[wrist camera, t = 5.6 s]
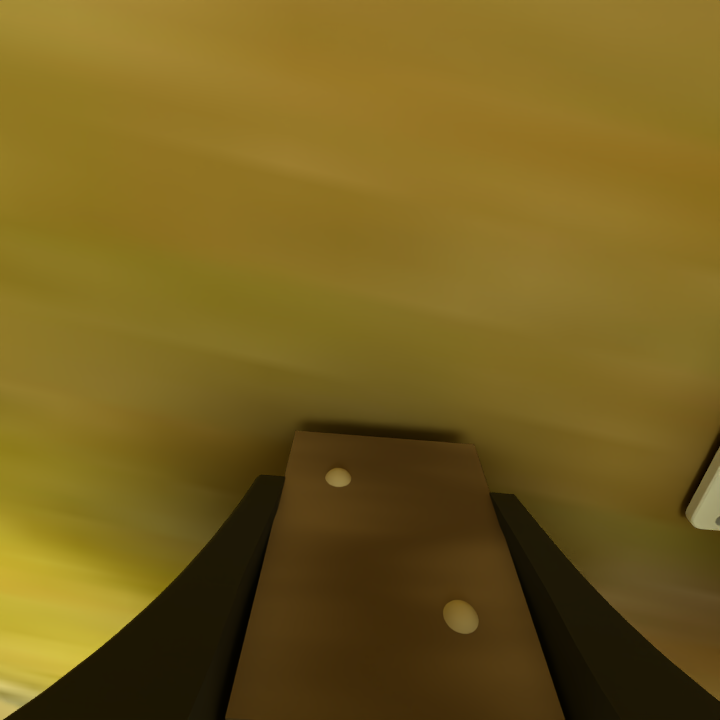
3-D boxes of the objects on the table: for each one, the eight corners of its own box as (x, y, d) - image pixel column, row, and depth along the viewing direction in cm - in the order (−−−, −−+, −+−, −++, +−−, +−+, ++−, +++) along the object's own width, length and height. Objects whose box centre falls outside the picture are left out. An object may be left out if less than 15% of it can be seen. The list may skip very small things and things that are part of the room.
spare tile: (475, 438, 13) (576, 732, 7) (461, 498, 14) (536, 804, 8) (295, 424, 13) (224, 710, 6) (294, 485, 14) (231, 784, 7)
